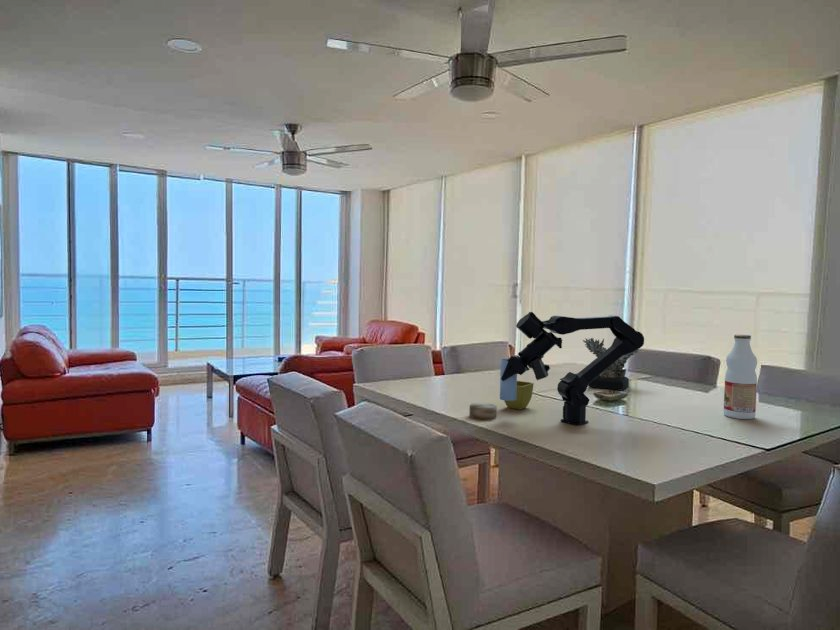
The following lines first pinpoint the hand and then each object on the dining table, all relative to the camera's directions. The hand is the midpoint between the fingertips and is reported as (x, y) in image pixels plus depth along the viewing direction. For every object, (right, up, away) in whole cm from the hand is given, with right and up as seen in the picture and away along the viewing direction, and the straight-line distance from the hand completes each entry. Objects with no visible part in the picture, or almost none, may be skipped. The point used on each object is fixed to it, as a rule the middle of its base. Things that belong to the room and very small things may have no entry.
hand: (504, 378), depth 176 cm
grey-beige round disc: (-7, -13, +4) cm, 15 cm away
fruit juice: (+82, -14, +7) cm, 83 cm away
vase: (+1, -7, 0) cm, 7 cm away
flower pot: (+7, -13, +17) cm, 22 cm away
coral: (+57, -11, +61) cm, 84 cm away
